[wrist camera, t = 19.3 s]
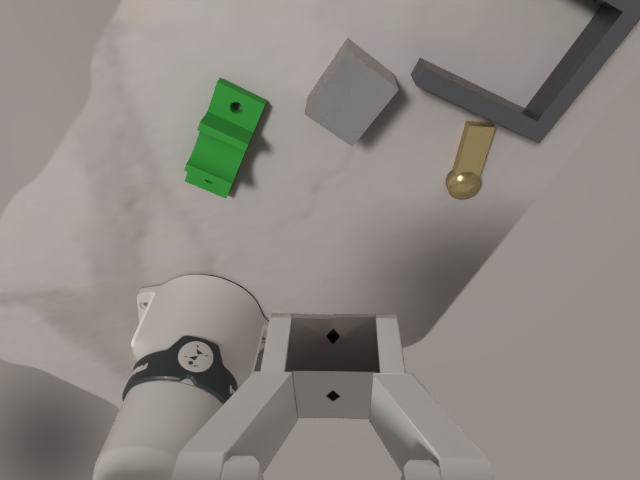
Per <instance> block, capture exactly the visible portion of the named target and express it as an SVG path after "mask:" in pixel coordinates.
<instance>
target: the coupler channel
mask: <svg viewBox="0 0 640 480" xmlns="http://www.w3.org/2000/svg"><path fill="white" fill-rule="evenodd" d="M594 1H596V2H598V3H600V4H601V5H602V6H601V8H600V9H599V10H598V12H597V13H596V14H595V16H594V17H593V18H592V20H591V21H590V22H589V24H588V25H587V26H586V28H585V29H584V30H583V32H582V33H581V34H580V36H579V37H578V38H577V40H576V41H575V42H574V44H573V45H572V46H571V48H570V49H569V50H568V52H567V53H566V54H565V56H564V57H563V59H562V60H561V61H560V63H559V64H558V65H557V67H556V68H555V69H554V71H553V72H552V73H551V75H550V76H549V77H548V79H547V80H546V81H545V83H544V84H543V85H542V87H541V88H540V89H539V91H538V92H537V93H536V95H535V96H534V97H533V99H532V100H531V101H530V103H529V104H528V105H527V107H526V108H523V107H520V106H518V105H516V104H514V103H512V102H510V101H508V100H506V99H504V98H502V97H500V96H498V95H496V94H494V93H492V92H490V91H487V90H485V89H483V88H481V87H479V86H477V85H475V84H473V83H471V82H469V81H467V80H465V79H463V78H461V77H459V76H456V75H454V74H452V73H450V72H448V71H446V70H444V69H442V68H440V67H438V66H436V65H434V64H432V63H430V62H428V61H425V60H423V59H421V58H420V59H419V60H418V62H417V64H416V66H415V68H414V70H413V71H412V73H411V76H412V78H413V80H414V82H415V85H416V86H418V87H421V88H423V89H425V90H427V91H429V92H431V93H433V94H435V95H438V96H440V97H442V98H444V99H446V100H448V101H450V102H453V103H455V104H457V105H459V106H461V107H463V108H465V109H468V110H470V111H472V112H474V113H476V114H478V115H480V116H483V117H485V118H487V119H489V120H491V121H493V122H495V123H498V124H500V125H502V126H504V127H506V128H508V129H510V130H513V131H515V132H517V133H519V134H521V135H523V136H525V137H528V138H530V139H532V140H534V141H536V142H538V143H540V142H541V140H542V139H543V138H544V137H545V136H546V134H547V133H548V132H549V131H550V129H551V128H552V127H553V126H554V124H555V123H556V122H557V121H558V120H559V118H560V117H561V116H562V115H563V113H564V112H565V111H566V110H567V109H568V107H569V106H570V105H571V104H572V102H573V101H574V100H575V99H576V97H577V96H578V95H579V94H580V93H581V91H582V90H583V89H584V88H585V86H586V85H587V84H588V83H589V81H590V80H591V79H592V78H593V77H594V75H595V74H596V73H597V72H598V70H599V69H600V68H601V67H602V65H603V64H604V63H605V62H606V61H607V59H608V58H609V57H610V56H611V54H612V53H613V52H614V51H615V50H616V48H617V47H618V46H619V45H620V43H621V42H622V41H623V40H624V38H625V37H626V36H627V35H628V34H629V32H630V31H631V30H632V29H633V27H634V26H635V25H636V24H637V22H638V21H639V20H640V0H594Z"/></svg>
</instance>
